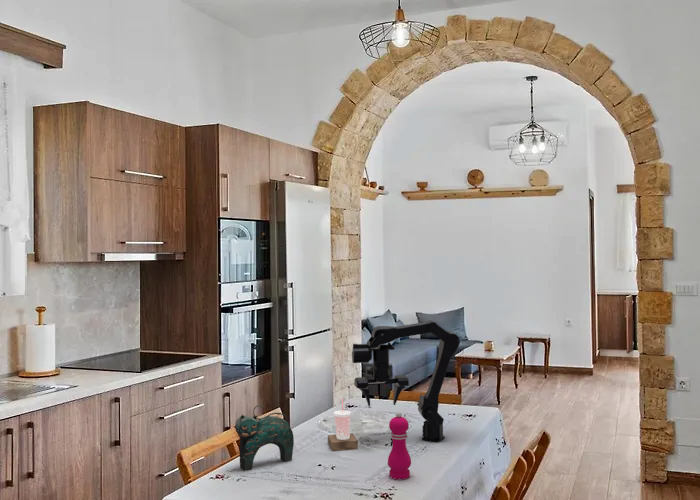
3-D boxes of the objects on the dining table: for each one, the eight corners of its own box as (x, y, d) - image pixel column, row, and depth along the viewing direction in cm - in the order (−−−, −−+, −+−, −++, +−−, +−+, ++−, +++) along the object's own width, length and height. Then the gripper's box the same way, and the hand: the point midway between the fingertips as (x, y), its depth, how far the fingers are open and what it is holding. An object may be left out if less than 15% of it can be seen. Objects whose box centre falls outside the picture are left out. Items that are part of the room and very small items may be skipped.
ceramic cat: (240, 473, 229) (239, 410, 229) (232, 467, 235) (231, 406, 234) (296, 461, 240) (295, 401, 239) (287, 456, 245) (286, 397, 245)
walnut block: (352, 441, 260) (352, 433, 260) (357, 449, 252) (357, 440, 251) (327, 443, 259) (327, 435, 259) (332, 451, 250) (332, 442, 250)
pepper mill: (413, 473, 226) (412, 409, 226) (408, 481, 219) (407, 415, 219) (391, 471, 229) (390, 408, 228) (385, 479, 222) (384, 414, 221)
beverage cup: (344, 441, 251) (343, 401, 250) (330, 438, 254) (330, 398, 254) (355, 437, 255) (354, 397, 255) (341, 434, 259) (341, 395, 259)
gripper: (401, 356, 268) (401, 398, 269) (351, 359, 265) (352, 401, 265) (408, 362, 257) (409, 406, 258) (356, 365, 254) (357, 409, 255)
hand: (381, 405), depth 259 cm, fingers open, 9 cm apart
